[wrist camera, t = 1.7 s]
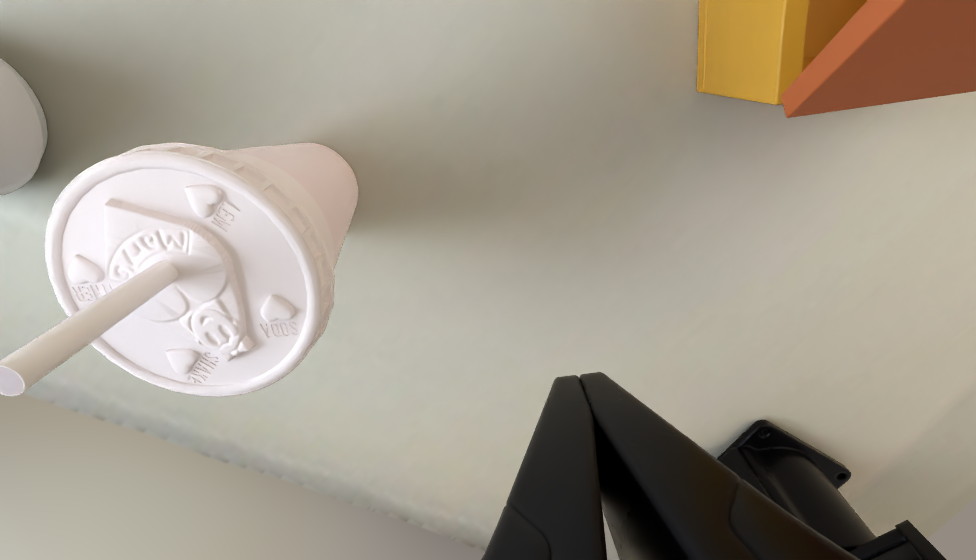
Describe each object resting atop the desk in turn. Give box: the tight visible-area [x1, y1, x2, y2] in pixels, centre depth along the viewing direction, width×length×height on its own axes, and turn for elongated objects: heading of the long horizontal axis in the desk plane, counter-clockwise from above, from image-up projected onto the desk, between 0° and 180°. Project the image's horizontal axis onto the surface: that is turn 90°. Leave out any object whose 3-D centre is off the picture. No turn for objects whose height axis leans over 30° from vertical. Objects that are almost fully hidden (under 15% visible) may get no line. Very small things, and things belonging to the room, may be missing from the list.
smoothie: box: [0, 142, 358, 397], centre depth 14 cm, size 6×6×14 cm
